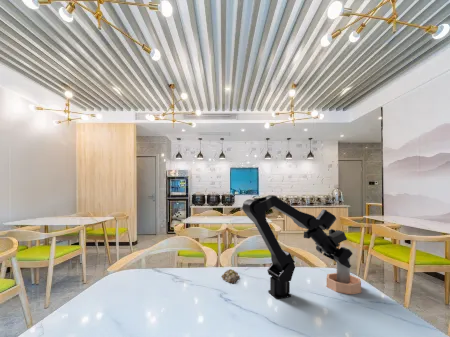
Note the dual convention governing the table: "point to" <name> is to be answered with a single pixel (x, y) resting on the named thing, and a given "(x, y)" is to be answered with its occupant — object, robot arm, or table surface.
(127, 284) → the table surface
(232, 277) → the mineral rock
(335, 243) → the robot arm
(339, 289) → the terracotta bowl
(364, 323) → the table surface
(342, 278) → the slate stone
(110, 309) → the table surface
